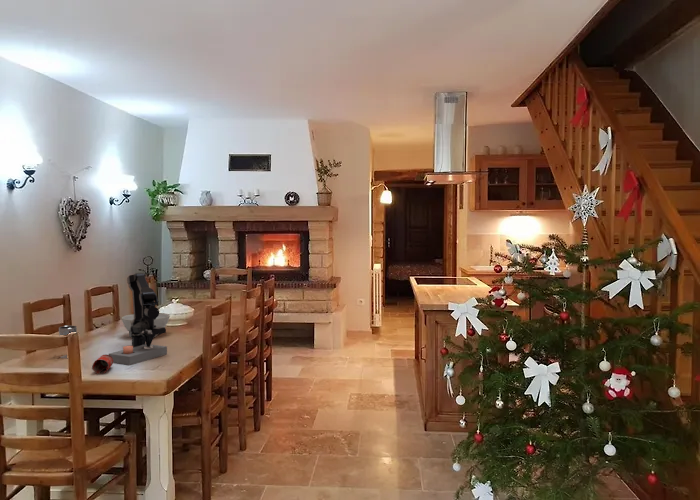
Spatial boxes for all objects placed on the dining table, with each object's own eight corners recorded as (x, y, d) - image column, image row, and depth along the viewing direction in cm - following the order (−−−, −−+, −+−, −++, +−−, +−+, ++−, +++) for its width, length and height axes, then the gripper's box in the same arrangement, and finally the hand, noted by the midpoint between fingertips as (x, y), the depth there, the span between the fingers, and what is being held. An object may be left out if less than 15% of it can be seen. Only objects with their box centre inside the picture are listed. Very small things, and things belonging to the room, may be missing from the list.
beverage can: (114, 367, 249) (114, 353, 249) (108, 374, 237) (108, 359, 237) (98, 367, 248) (98, 353, 247) (91, 374, 236) (91, 360, 236)
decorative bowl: (138, 343, 300) (137, 321, 299) (112, 337, 316) (112, 316, 316) (179, 335, 321) (178, 315, 321) (153, 330, 338) (153, 311, 337)
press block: (108, 361, 258) (108, 353, 258) (146, 351, 280) (146, 343, 280) (129, 365, 252) (129, 356, 252) (167, 354, 274) (166, 346, 274)
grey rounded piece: (142, 354, 271) (141, 346, 271) (148, 352, 275) (148, 345, 275) (148, 355, 269) (148, 347, 269) (155, 353, 273) (155, 345, 273)
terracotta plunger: (121, 355, 259) (121, 347, 259) (128, 353, 263) (128, 345, 263) (127, 356, 257) (127, 348, 257) (135, 354, 261) (134, 346, 261)
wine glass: (80, 356, 270) (80, 326, 269) (65, 359, 263) (64, 329, 262) (71, 354, 274) (70, 325, 273) (56, 357, 267) (55, 327, 266)
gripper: (121, 316, 268) (122, 347, 268) (149, 319, 260) (150, 351, 261) (139, 313, 278) (139, 343, 278) (166, 316, 270) (166, 346, 271)
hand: (148, 346), depth 272 cm, fingers closed, pressing on grey rounded piece
